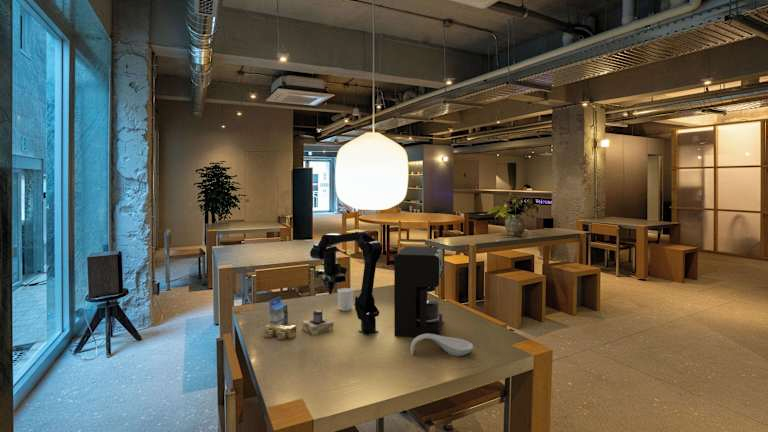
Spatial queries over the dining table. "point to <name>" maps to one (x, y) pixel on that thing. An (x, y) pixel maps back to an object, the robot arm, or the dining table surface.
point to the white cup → (345, 299)
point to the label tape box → (278, 312)
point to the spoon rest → (445, 344)
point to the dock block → (317, 326)
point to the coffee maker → (417, 291)
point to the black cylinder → (317, 317)
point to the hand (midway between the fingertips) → (330, 293)
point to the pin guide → (280, 334)
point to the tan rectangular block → (282, 329)
